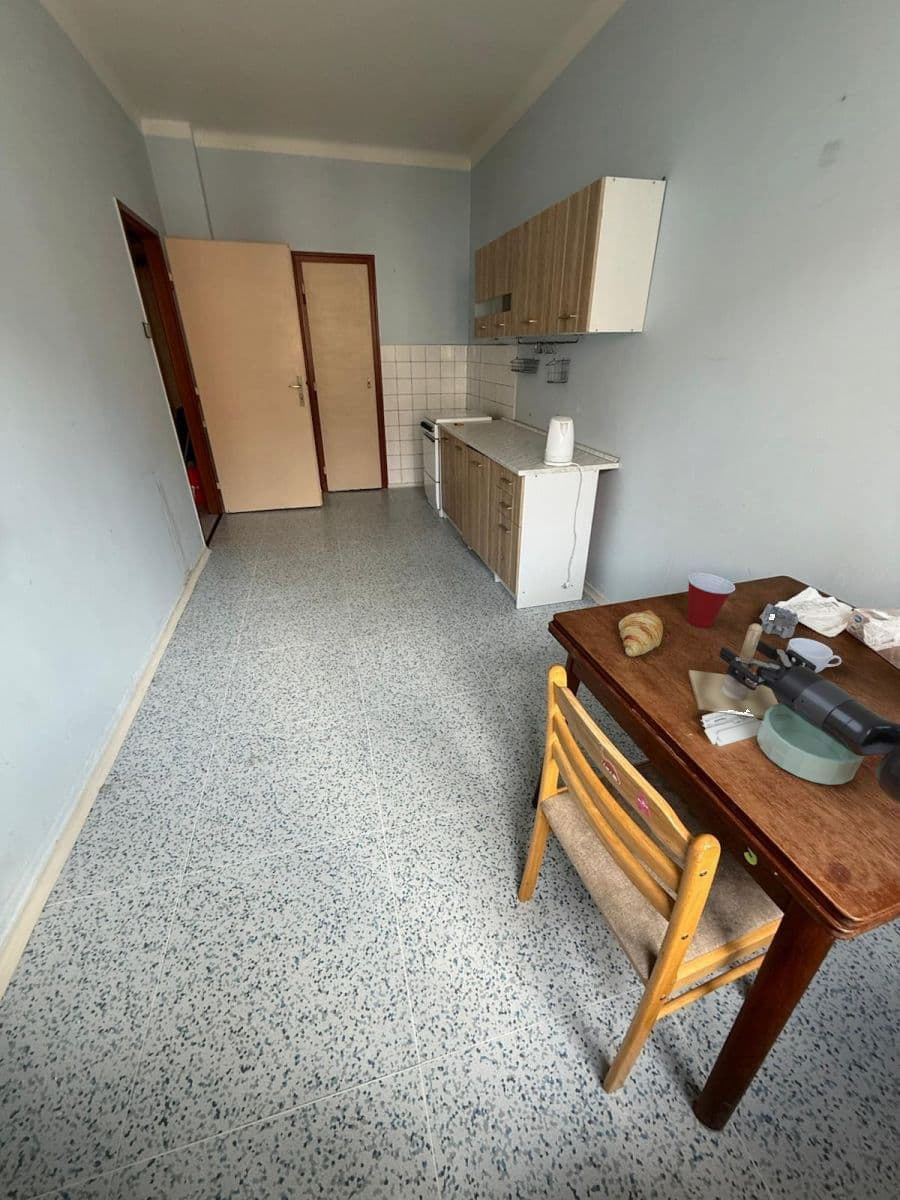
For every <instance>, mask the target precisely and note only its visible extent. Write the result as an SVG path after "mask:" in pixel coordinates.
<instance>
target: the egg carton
mask: <svg viewBox="0 0 900 1200" xmlns="http://www.w3.org/2000/svg"><path fill="white" fill-rule="evenodd" d="M770 614H775V618H774V620H769V617H770ZM760 617H761V620H762V622H761V624H760V626H761V627H762V632H764V633H765V634H768V635H771V634H773V635H779V637H780V638H781V639H787V638H792V637H793V635H794V634H795V630H796V627H797V625H798V623H799V621H800V620H799V619H800V618H799V617H798V613H797V612H795V611H794V612H791V610H790V609H785V608H783V607H780V606H778V605H777V606H775V605H773V604H771V603H767V605H766V606H765V608H764V610H763V612H762V614H761V616H760Z"/></svg>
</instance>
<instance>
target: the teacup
mask: <svg viewBox="0 0 900 1200" xmlns="http://www.w3.org/2000/svg"><path fill="white" fill-rule="evenodd" d="M788 649H790V650H793V651H795V652H796V653H798V654H799V655H801V656H802V657H804V658H805V659H807V660H808V661H810V662H811V663H813V664H814V665H816V666H817V667H816V670H815V672H816V673H817V674H819V672H822V671H823V670H824V669H825V668H832V667H837V666H840V665H841V664H842V658H841V657H840V656H839V655H836V654H834V652H833V650H832V648H830V647H829V646H828V645H826V644H824V643H822V642H821V641H817V640H814V639H811V638H804V637H795V638H792V639H789V641H788V644H787V647H786V651H785V652H787V650H788ZM834 659H838V661H837V662H836V663H829V662H830V661H832V660H834ZM792 661H794V662H795V658H792Z"/></svg>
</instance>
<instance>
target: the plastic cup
mask: <svg viewBox="0 0 900 1200" xmlns="http://www.w3.org/2000/svg"><path fill="white" fill-rule="evenodd" d="M687 582H688V595H687V615H686V616H687V617H686V619H687V622H688V624H690V625H692V626H694V627H696V628H702V629H707V628H710V627H712V625H713V624H714V622H715V620H716V618H717V616H718V615H719V614H720V611H721V610H722V608H723V606H724V604H725V603H726V601H727V599H728V598H729V596H730V595H731V594H732V593H734V592H735V590H736V586H735V584H734V583H732V581H731V580H729V579H726V578H724V577H722V576H720V575H716V574H712V573H707V572H692V573H690V574H688V576H687Z"/></svg>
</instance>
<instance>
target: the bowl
mask: <svg viewBox="0 0 900 1200" xmlns="http://www.w3.org/2000/svg"><path fill="white" fill-rule="evenodd" d="M761 720H762V721H761V723H760V725H759V728H758V730H757V735H756V741H757V743H758V746H759V748H760V750H761V751H762V752H763V753H764V754H765V755H766V757H767V759H769V760H770V761H771V762H773V763H774V764H776V765H777V766H778V767H780V768H781V769H783V770H784V771H786V772H788V773H791V774H792V775H794V776H796V777H797V778H801V779H803V780H807V781H809V782H812V783H817V784H822V785H829V786H831V785H843V784H846V783H849V782H850V781H852V780H853V779H854V777H856V774H857V772H858V770H859V768H860V766H861V765H862V763H863V761H864V759H865V758H866V756H858V755H855V754H853V753H851V752H850V751H848V750H847V749H845V748H844V747H842V746H841V745H840V744H838V743H837V742H836V741H834V740H833V739H832V738H830V737H829V736H828V735H826V734H825V733H824V732H822V731H821V730H819V729H817V728H815V727H814V726H812V725H810V724H809V723H808V722H806V721H805V720H804V719H802V718H801V717H799V716H798V715H797V714H795V713H794V712H793V711H791V710H790V709H789V708H787V707H786V706H785V705H783V704H782V703H781V702H778V704H776V705H773V706H771V707H770V708H769V709H768V710H767V711H766V712H765V715H764V717H763V719H761Z"/></svg>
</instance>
